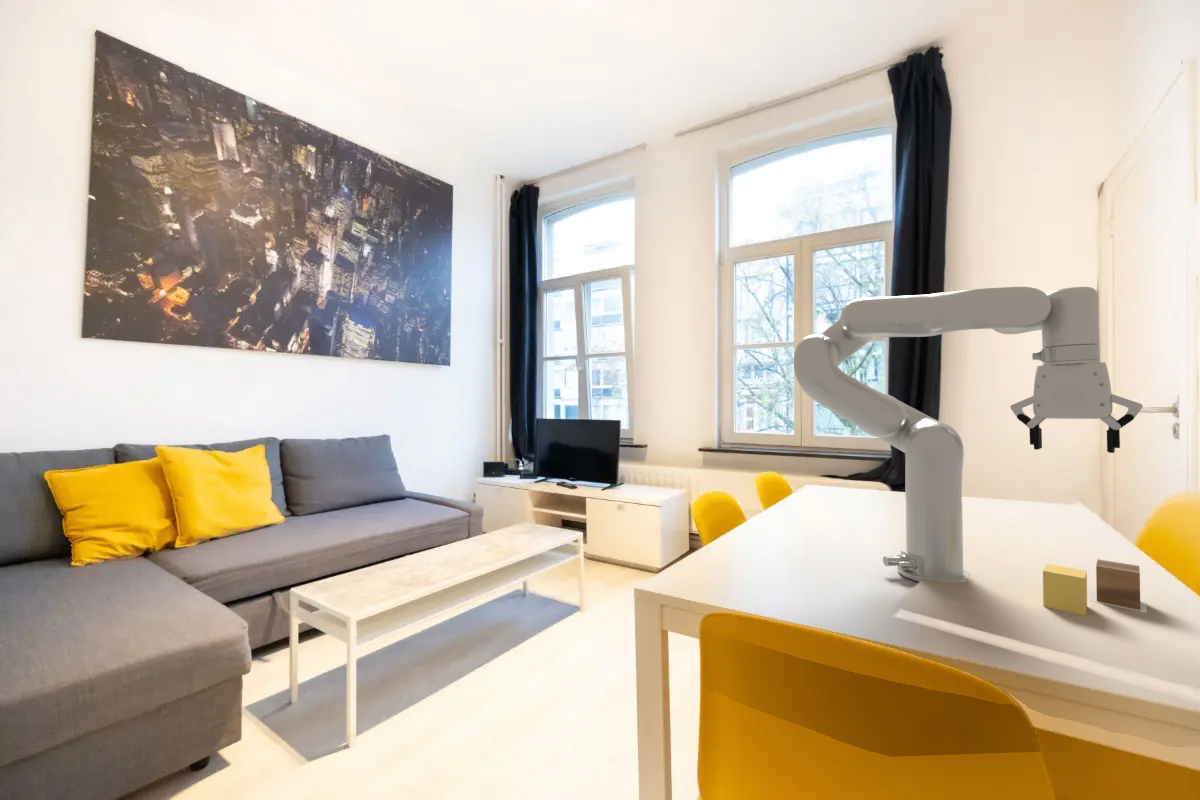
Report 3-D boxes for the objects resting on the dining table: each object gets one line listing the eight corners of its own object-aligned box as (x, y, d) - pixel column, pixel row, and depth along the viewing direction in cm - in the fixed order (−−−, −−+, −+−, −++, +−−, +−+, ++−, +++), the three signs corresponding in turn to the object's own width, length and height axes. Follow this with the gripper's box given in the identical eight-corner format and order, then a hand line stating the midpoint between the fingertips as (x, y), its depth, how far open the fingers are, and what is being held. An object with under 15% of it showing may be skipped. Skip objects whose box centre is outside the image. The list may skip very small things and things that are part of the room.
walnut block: (1140, 609, 80) (1139, 573, 80) (1096, 601, 84) (1096, 565, 84) (1139, 601, 83) (1139, 565, 83) (1097, 592, 87) (1097, 559, 87)
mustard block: (1085, 615, 78) (1084, 578, 78) (1043, 606, 82) (1042, 570, 82) (1087, 606, 82) (1086, 570, 82) (1046, 598, 85) (1046, 563, 85)
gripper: (1005, 359, 94) (1007, 449, 93) (1139, 351, 80) (1142, 455, 80) (1014, 361, 98) (1016, 446, 98) (1142, 353, 85) (1145, 451, 85)
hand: (1073, 450), depth 89 cm, fingers open, 9 cm apart
